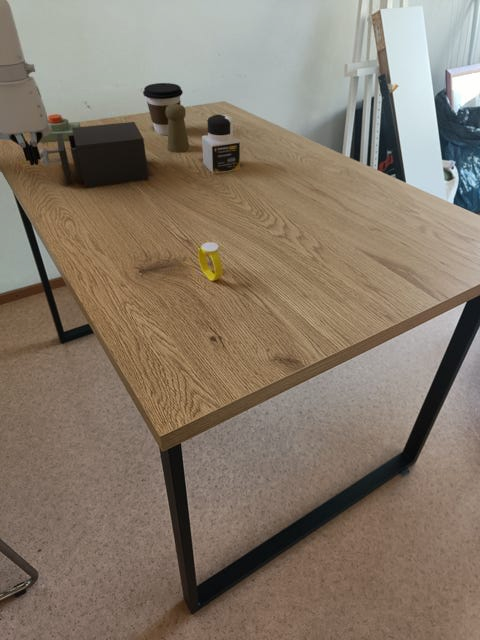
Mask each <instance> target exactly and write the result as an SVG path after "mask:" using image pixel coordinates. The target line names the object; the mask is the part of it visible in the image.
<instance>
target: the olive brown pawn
mask: <svg viewBox="0 0 480 640" xmlns="http://www.w3.org/2000/svg"><path fill="white" fill-rule="evenodd" d="M186 112H187V111H186V108H185V106H184V105H182V104H181V103H180V104H171V105H168V106H167V107H166V111H165V113H166V117H167V118H168V135H167V148H166V149H167V151H169V152H171V153H185V152H187V151H189V150H190V143H189V142H190V141H189V138H188V137H189V136H188V132H187V127H186V122H185V118H186V114H187V113H186Z"/></svg>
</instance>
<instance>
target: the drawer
mask: <svg viewBox="0 0 480 640" xmlns="http://www.w3.org/2000/svg"><path fill="white" fill-rule="evenodd" d="M68 137H69V145H70V152H71V153H70V154H71V157H72V161H73V166H74V170H75V174H76V178H77V182H84V180H83V176H82V171H81V167H80V162H79V158H78V154H77V149H76V145H75V140H74V135H73V134H72V135H68ZM56 142H57V149H47V148H45V147H43V148H41V149H40V158H41V159H40V164H41V165H42V166H43V167H48V166H49V164H54V163H61V167H62V170H63V175H64V179H65V182H66V186H73V184H74V183H73V178H72V177H73V176H72V170H71V166H70V161H69V158H68V153H67V148H66V145H65V141H64V140H63V136H62V134H57V141H56ZM49 154H58V155H59V158H51V159H49Z"/></svg>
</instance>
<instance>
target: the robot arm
mask: <svg viewBox="0 0 480 640" xmlns="http://www.w3.org/2000/svg"><path fill="white" fill-rule="evenodd" d="M21 44H22V43H21V40H20V37H19V32H18V29H17V26H16V21H15V18H14V15H13V11H12V8H11V5H10V3H9V1H8V0H0V139H1V140H5V141H12V142H14V144H16V145H18V146H19V148H21V149H22V151H23V155H24V158H25V161H26V162H29V164H30V167H31V166H34V165H35V166H39V160H40V161H41V153H40V151H39V147H38V144H39V143H40V142H39V141H40V140H41V138H42V137H44V136H47V135H50V134H52V130H51V128H50V126H49V124H48V115H47V111H46V107H45V105H44V102H43V98H42V95H41V91H40V88H39V87H38V84H37V82H36V80H35V77H33V76H30V74H32V73H36V68H35V64H33V63H31V64H30V63H28V62H27V61H26V59H25V55H24V51H23V47H22V45H21ZM24 134H29V137H30V141H29V142H28V141H27V140H26V138H25V135H24Z"/></svg>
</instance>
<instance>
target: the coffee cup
mask: <svg viewBox="0 0 480 640" xmlns="http://www.w3.org/2000/svg"><path fill="white" fill-rule="evenodd" d="M142 93H143V96H144V97H146V103H147V109H148V111H149V115H150V119H151V122H152V125H153V127H154V130H155V132H156V134H157V135H160V136H168V118H167V117H166V113H165V111H166V107H167V106H168V105H171V104H180V105H181V96H182V95H183V93H184V92H183V90H182V87H181V86H180V85H179V84H176V83H171V82H159V83H158V82H157V83H151V84H148V85H146V86H145V87H144V88H143V91H142Z"/></svg>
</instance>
